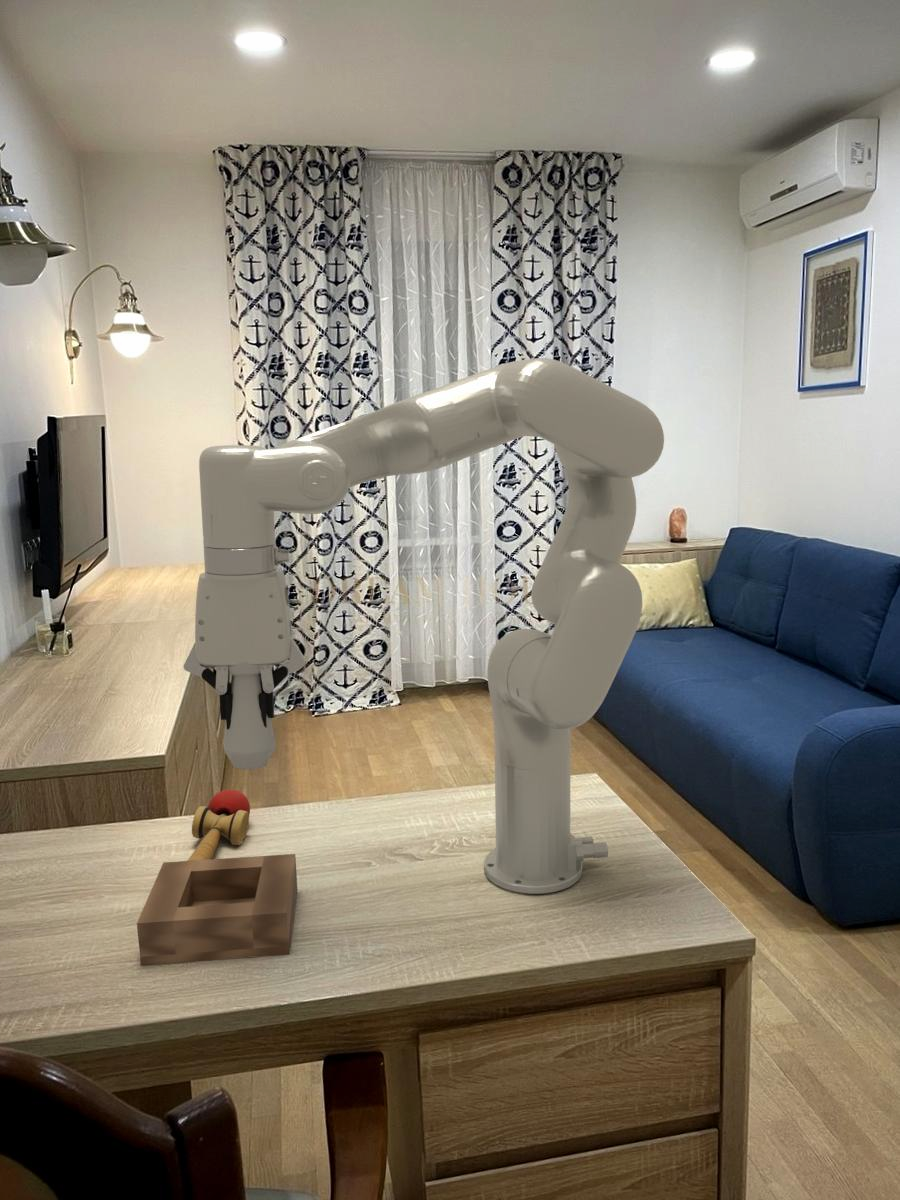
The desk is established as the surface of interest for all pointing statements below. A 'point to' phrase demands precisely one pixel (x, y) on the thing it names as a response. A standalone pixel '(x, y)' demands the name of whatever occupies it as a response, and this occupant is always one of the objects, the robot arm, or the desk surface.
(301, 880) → the desk surface
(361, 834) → the desk surface
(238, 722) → the grey rounded peg
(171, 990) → the desk surface
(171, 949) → the socket block
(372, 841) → the desk surface
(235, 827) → the kendama
